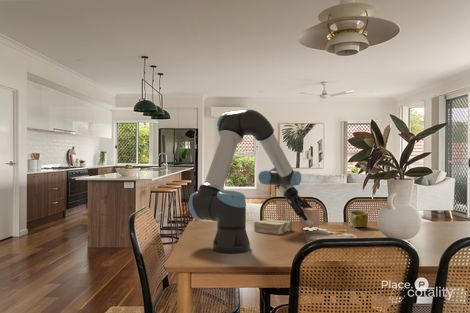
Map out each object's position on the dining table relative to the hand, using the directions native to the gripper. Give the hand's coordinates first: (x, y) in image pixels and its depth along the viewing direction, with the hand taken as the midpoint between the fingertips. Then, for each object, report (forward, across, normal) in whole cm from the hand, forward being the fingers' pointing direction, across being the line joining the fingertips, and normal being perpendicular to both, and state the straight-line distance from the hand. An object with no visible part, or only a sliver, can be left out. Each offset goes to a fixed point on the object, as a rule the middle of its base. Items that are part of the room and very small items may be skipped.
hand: (315, 223), depth 182 cm
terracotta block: (0, 0, -5) cm, 5 cm away
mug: (+11, -24, +6) cm, 27 cm away
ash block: (-9, +14, -14) cm, 22 cm away
